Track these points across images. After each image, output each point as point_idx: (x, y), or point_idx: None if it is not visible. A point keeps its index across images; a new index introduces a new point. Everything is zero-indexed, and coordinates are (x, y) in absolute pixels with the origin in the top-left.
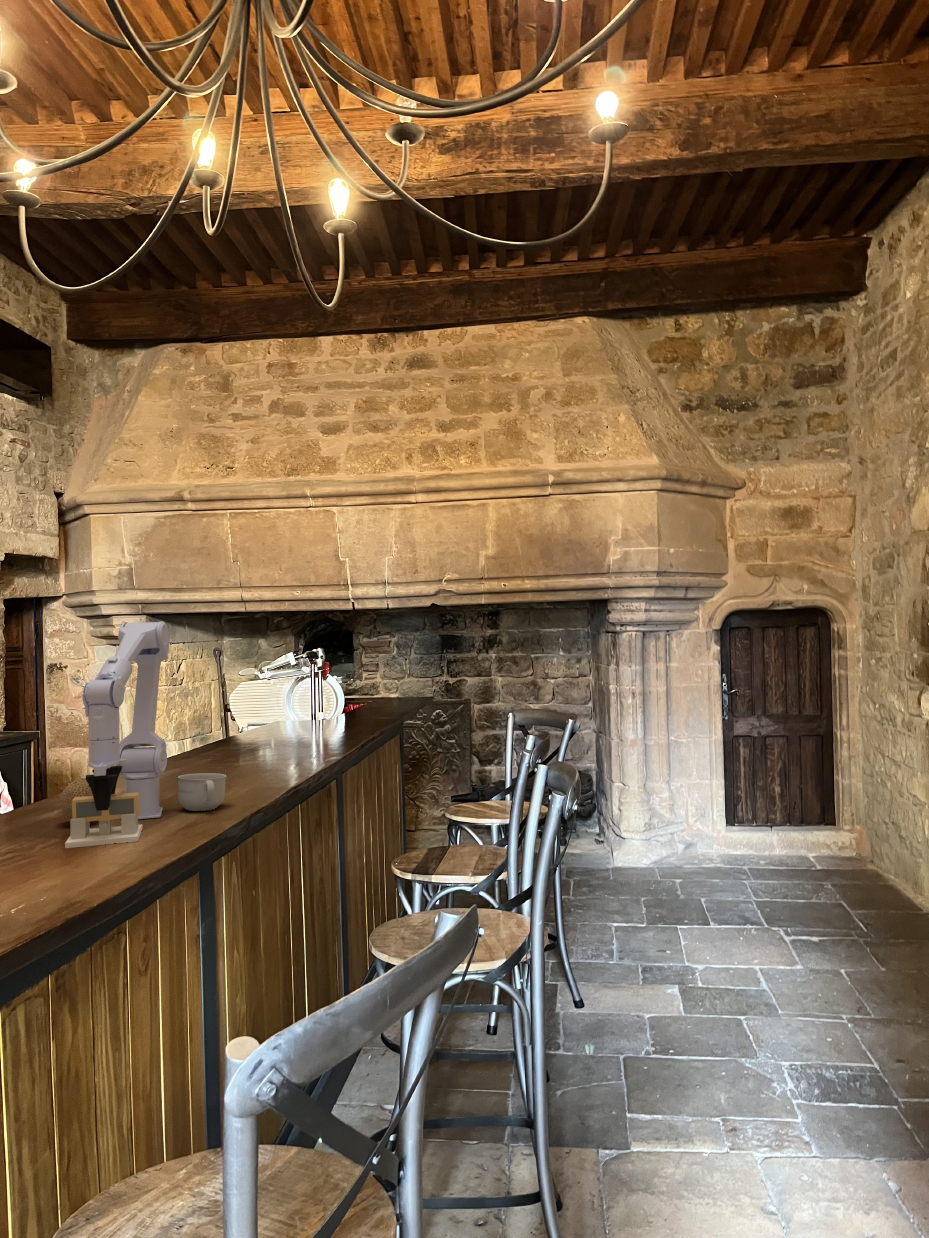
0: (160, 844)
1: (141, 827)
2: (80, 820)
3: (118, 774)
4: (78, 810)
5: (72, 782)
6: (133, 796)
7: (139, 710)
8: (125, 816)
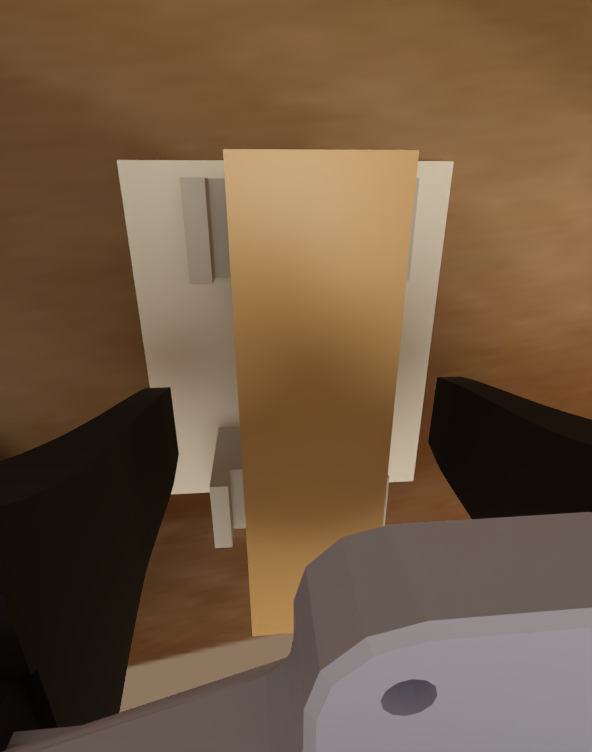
0: (580, 12)
1: (185, 160)
2: None
3: (64, 487)
4: None
5: None
6: (410, 196)
7: None
8: None
